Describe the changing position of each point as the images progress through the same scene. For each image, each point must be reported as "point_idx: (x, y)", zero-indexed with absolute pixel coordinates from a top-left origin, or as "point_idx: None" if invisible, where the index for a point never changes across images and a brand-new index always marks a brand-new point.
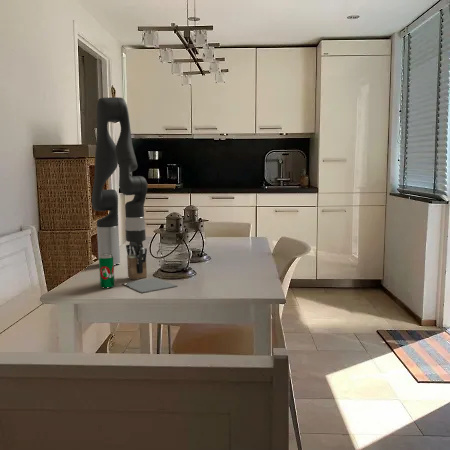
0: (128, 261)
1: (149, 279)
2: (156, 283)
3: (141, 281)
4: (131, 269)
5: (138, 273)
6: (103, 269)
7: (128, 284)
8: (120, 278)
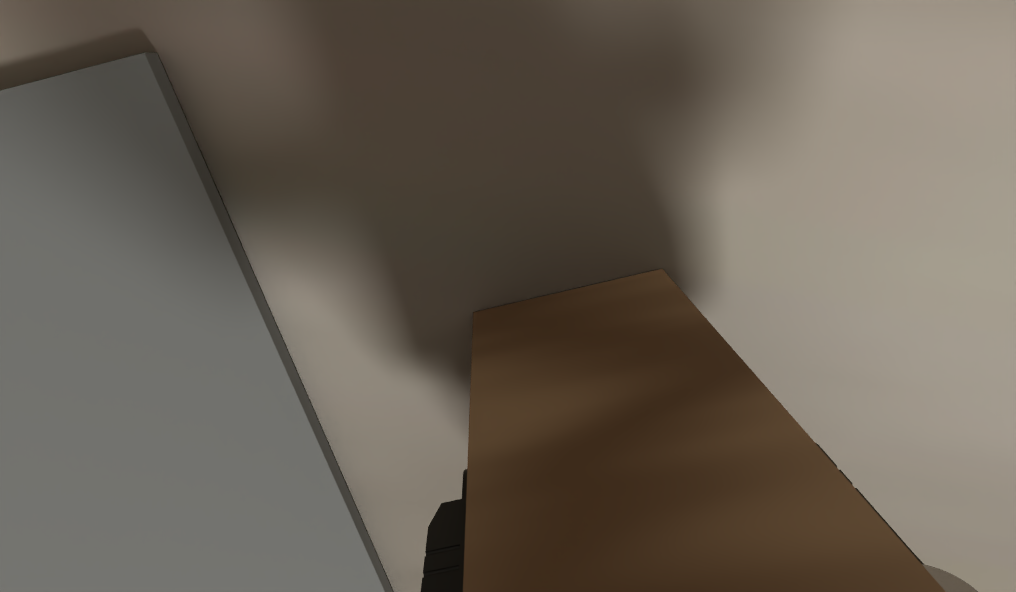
0: (764, 528)
1: (314, 537)
2: (7, 571)
3: (212, 415)
4: (507, 416)
5: None
6: None
7: (15, 161)
8: (731, 128)
